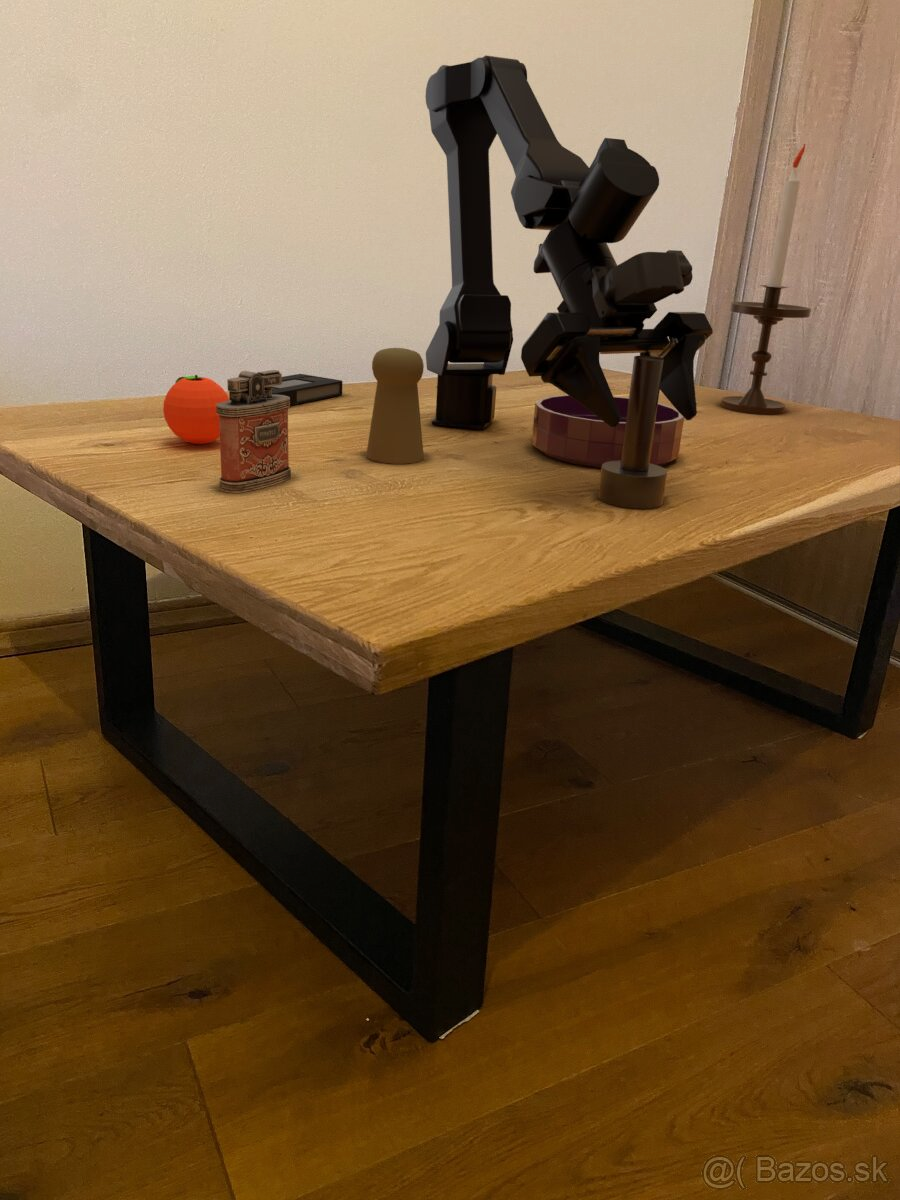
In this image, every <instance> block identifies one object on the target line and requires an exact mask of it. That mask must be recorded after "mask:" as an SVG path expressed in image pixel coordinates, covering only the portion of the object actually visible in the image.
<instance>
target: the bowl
mask: <svg viewBox="0 0 900 1200" xmlns="http://www.w3.org/2000/svg"><path fill="white" fill-rule="evenodd" d="M613 397H614V400H615V402H616V405H617V408H618V411H619V415H620V418H621V421H620V422H619V423H618V424H617V425H616V426H615V427H610V426H609V425H608V424H606V423H605V422H604V421H603V420H601V419H600V418H599V417H597V416H596V415H595V414H593V413H592V412H591V411H590V410H588V409H587V408H586V407H584V406H583V405H582V404H580V403H579V402H578V401H576V400H575V399H573V398H572V397H571V396H569V395H568V394H559V395H551V396H546V397H541V398H538V399H537V400H536V402H535V403H534V413H533V422H532V434H531V444H532V445H533V446H534V447H535V448H536V449H538V450H539V451H540V452H541V453H542V454H543V455H546V456H547V457H549V458H552V459H555V460H558V461H561V462H564V463H568V464H574V465H578V466H585V467H591V468H599V469H601V467H602V464H603V463H605V462H609V461H617V460H621V456H622V448H623V441H624V433H625V425H626V417H627V409H628V401H629V397H626V396H615V395H613ZM684 422H685V418H684V417H683V416H682V415H681V414H680V413H679V412H678V411H677V410H676V408H675V407H674V406H670V405H666V404H663V403H660V402H658V406H657V413H656V420H655V427H654V434H653V442H652V449H651V456H650V464H654V465H658V466H660V467H663V466H665V465H667V464H669V462H672V461H674V460H676V459H678V458H679V455H680V450H681V449H680V448H681V442H682V434H683V429H684Z"/></svg>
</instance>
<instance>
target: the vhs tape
mask: <svg viewBox="0 0 900 1200" xmlns="http://www.w3.org/2000/svg"><path fill="white" fill-rule="evenodd" d="M271 389H272V394H276V395H285V396H288V397H290V406H294V405H300V404H304V403H309V402H310V403H311V402H315V401H319V400H323V399H329V398H333V397H339V396H342V395H343V380H342V379H337V378H335V379H334V378H329V377H323V376H317V375H310V374H305V373H296V374H290V375H284V376H282V385H277V386H271ZM228 397H229V400H231V397H230V395H229V394H228Z"/></svg>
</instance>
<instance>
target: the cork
mask: <svg viewBox="0 0 900 1200" xmlns="http://www.w3.org/2000/svg"><path fill="white" fill-rule="evenodd" d="M424 365H425V364H424V360H423V358H422V356H421V354H420V353H419V352H417V351H416V350H412V349H409V348H404V347H389V348H383V349H380V350H378V351H377V352H376V353H374V356H373V358H372V361H371V368H372V369H371V371H372V374H373V377H374V378H375V380H376V389H375V393H374V394H375V395H374V400H373V401H374V402H373V408H372V414H371V421H370V427H369V435H368V441H367V447H366V458H367V459H369V460H370V461H371V460H372V461H374V462H378V463H383V464H392V465H393V464H395V465H405V464H414V463H419V462H421V461H423V460H424V458H425V457H424V445H423V434H422V433H423V432H422V423H421V420H422V419H421V409H420V400H419V399H420V398H419V388H418V387H419V386H418V383H419V382H420V381H421V379H422V377H423V373H424V369H425V368H424V367H425V366H424Z"/></svg>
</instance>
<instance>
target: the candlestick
mask: <svg viewBox="0 0 900 1200" xmlns="http://www.w3.org/2000/svg"><path fill="white" fill-rule="evenodd" d="M805 149H806V143H804V144H803V146H802V148H801V149H800V150H799V151H798V153H797V155H796V157H795V158H794V160H793V162H792V168H793V169H792V170H791V174H790V176H789V177H788V180H785V181H784V187H783V191H782V197H781V204H780V210H779V214H778V219H777V227H776V233H775V238H774V243H773V249H772V254H771V260H770V266H769V273H768V278H767V284H758V286H760V287H764V288H765V292H764V297H763V301H762V302H759V301H758V302H757V301H731V302H730V305H729V311H730V312H733V313H738V314H744V315H749V316H752V317H753V319H755V320H757V323H758V324H760V325H761V329H760V334H759V340H758V346H757V350H754V351H753V352H752V353H751V360H752V362H754V365H753V370H750V371H749V375H752V380H751V384H750V388H749V389H748V390H747V392H746V393H745V394H744V395H743V396H742V395H740V396H739V395H735V396H734V395H731V396H729V395H728V396H723V397H722V398H721V400H720V407H721V408H723V409H726V410H730V411H734V412H738V413H743V414H744V413H745V414H752V415H753V414H755V415H780V414H781V415H782V414H784V413H785V412H786V411H785V409H786V404H785V403H783V402H781V401H777V400H773V399H769V398H765V396H764V393H763V391H762V388H761V387H762V382H763V378H764V377H765V376H768V372H766V371H765V370H766V364H767V363H769V362H770V361H771V359H772V358H773V357H772V353H770V352H769V351H768V350H769V343H770V338H771V331H772V327H773V326H776V325H778V323H779V322H782V321H784V319H807V318H810V317H811V312H812V311H811V310H812V309H811V308H810V307H807V306H800V305H793V304H783V303H780V299H781V294H782V293H781V292H782V289H788V288H790V287H789V286H784V285H783V286H782V284H783V283H782V282H783V278H784V271H785V266H786V262H787V261H786V260H787V255H788V249H789V243H790V239H791V233H792V228H793V222H794V216H795V211H796V206H797V200H798V195H799V189H800V184H801V181H799V180H798V176H797V175H798V170H797V169H796V168H798V166H799V164H800V162H801V160H802V158H803V157H802V156H803V154H804V153H805Z"/></svg>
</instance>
